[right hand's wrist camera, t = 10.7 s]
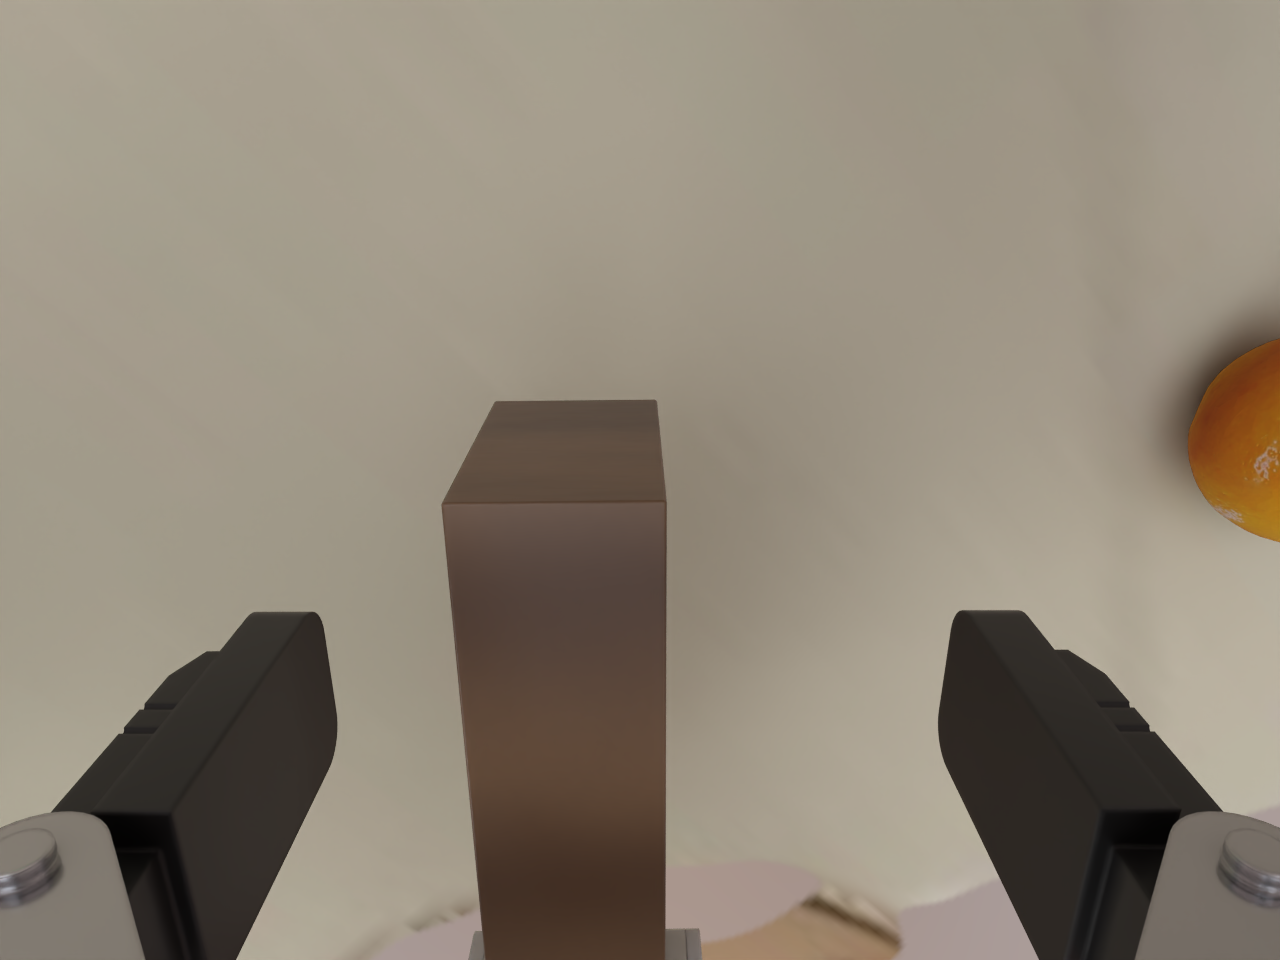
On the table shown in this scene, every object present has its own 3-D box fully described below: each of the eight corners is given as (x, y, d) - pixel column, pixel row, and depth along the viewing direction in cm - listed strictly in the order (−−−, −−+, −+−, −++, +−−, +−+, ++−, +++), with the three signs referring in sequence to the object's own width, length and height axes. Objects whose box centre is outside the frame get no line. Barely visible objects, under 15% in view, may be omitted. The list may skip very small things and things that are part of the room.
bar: (494, 400, 28) (440, 503, 20) (657, 399, 28) (666, 501, 20) (531, 932, 36) (503, 1155, 28) (657, 931, 36) (664, 1152, 28)
